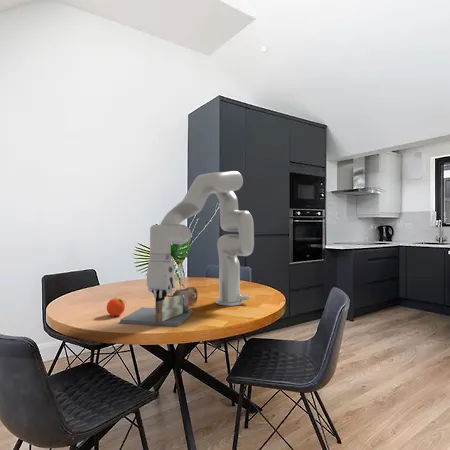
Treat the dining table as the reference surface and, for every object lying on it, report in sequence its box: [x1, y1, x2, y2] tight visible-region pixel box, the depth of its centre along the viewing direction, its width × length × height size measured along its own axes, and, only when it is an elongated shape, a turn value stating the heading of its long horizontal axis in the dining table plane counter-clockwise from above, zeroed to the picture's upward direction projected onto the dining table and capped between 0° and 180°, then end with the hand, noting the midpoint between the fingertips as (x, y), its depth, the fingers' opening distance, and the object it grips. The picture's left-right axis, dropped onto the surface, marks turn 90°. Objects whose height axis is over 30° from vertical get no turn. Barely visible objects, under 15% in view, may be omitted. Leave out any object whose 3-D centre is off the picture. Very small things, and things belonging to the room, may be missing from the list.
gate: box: [155, 295, 183, 323], centre depth 123 cm, size 15×2×7 cm, turn 153°
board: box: [119, 306, 194, 327], centre depth 128 cm, size 22×19×1 cm
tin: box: [172, 286, 198, 308], centre depth 146 cm, size 15×3×8 cm, turn 148°
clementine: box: [106, 297, 127, 317], centre depth 131 cm, size 8×7×7 cm
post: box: [181, 291, 189, 314], centre depth 131 cm, size 3×3×10 cm
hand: (160, 308), depth 122 cm, fingers closed
